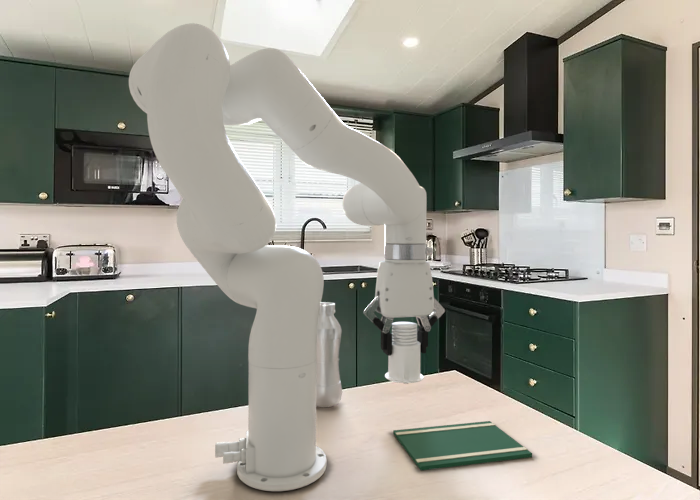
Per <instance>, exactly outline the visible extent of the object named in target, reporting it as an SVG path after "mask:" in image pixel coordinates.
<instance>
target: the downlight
mask: <svg viewBox="0 0 700 500" xmlns="http://www.w3.org/2000/svg"><path fill="white" fill-rule="evenodd" d="M417 328H418V323H416V322H411V321H395V322H394V321H393V322H392V324H391V334H392V355H390V356H388V355H387V357H388V360H387V368H388V369H387V372H386V373H385V374H384V378H385V379H386V380H388V381H390V382H393V383H399V384H405V385H406V384H407V385H409V384H414V383H419V382H422V381H423V380H424V378H425V377H424V375H423V374H422V373H421V352H420V345H421V343H420V342H418V341H417Z"/></svg>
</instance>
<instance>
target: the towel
mask: <svg viewBox="0 0 700 500" xmlns="http://www.w3.org/2000/svg"><path fill="white" fill-rule="evenodd" d="M392 434H393V436H394V437H395V439H396V440H397V441H398V442H399V444H400V445H401V446H402V448H403V449H404V450H405V452H406V453H407V455H408V456H409V457H410V459H411V460H412V461H413V462H414V464H415V465H416V466H417V468H418V469H419V471H428V470H436V469H446V468H455V467H460V466H469V465H471V466H472V465H478V464H487V463H495V462H502V461H513V460H520V459H528V458H533V453H532V452H531V451H530V450H529V449H528V448H527V447H525V446H523V445H522V444H520V443H519V442H518V441H517V440H515V439H514V438H513V437H511V436H510V435H508V434H507V433H506V432H505V431H503V430H502V429H501V428H500V427H498V426H497V425H496V424H495V423H494V422H492V421H490V420H487V421H476V422H475V421H474V422H465V423H456V424H445V425H434V426H424V427H415V428H404V429H403V428H402V429H393V432H392Z"/></svg>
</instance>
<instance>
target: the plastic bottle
mask: <svg viewBox="0 0 700 500" xmlns="http://www.w3.org/2000/svg"><path fill="white" fill-rule="evenodd" d="M335 313H336V302H331V301H327V302H326V301H321V304H320V309H319V315H318V323H317V339H316V407H321V408H331V407H335V406H337V405H339V403H340V402H341V400H342V397H343V396H342V395H343V387H342V382H341V373H340V349H341V341H342V335H343V334H342V333H343V330H342V326H341V324H340V322H339V320H338V319H337V318H336V317H335V315H334V314H335Z"/></svg>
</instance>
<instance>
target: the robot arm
mask: <svg viewBox="0 0 700 500" xmlns="http://www.w3.org/2000/svg"><path fill="white" fill-rule="evenodd" d="M128 88H129V93H130V95H131V97H132V100H133V101H134V102H135V104H136V105H137V107H138V108H140V110H142V111H143V112H144V113H145V114H146V121H147V122H146V123H147V131H148V136H149V140H150V144H151V147H152V150H153V152H154V155H155V157H156V160H157V161H158V164H159V165H160V167H161V168H162V171H164V173H165V175H166V176H167V177H168V179H169V180H170V182H171V183H172V185H173V186H174V188H175V190H177V192H178V194H179V195H180V197H181V198H182V200H181V201H180V203H179V205H178V208H177V212H176V226H177V231H178V233H179V235H180V238H181V240H182V242H183V244H185V246H186V248H187V249H188V250H189V252H190V253H191V254H192V255H193V257H194V258H195V259H196V260H197V261H198V263H199V264H200V266H201V267H202V268H203V269H204V271H205V272H206V273H207V274H208V276H209V277H210V278H211V279H212V280H213V282H214V283H215V284H216V286H217V287H218V288H219V290H221V291H222V292H223V293H224V294H225V296H227V297H228V298H229V299H230V300H232V301H233V302H235V303H236V304H239V305H241V306H244V307H247V308H252V309H256V312H255V316H254V319H253V322H252V325H251V329H250V333H249V336H248V337H249V338H248V347H247V348H248V349H247V350H248V351H247V363H248V365H247V366H248V370H247V371H248V375H247V376H248V380H247V381H248V383H247V384H248V385H247V386H248V389H247V390H248V396H247V397H248V405H247V407H248V409H247V410H248V414H247V415H248V417H247V418H248V421H247V423H248V430H246V431H245V437H241V438H238V441H220V442H219V441H218V442H215V448H214V457H215V458H222V462H223V464H232V463H237V464H236V475H237V477H238V479H239V480H240V481H241V482H242V483H243V484H245V485H246V486H247V487H250V488H253V489H256V490H259V491H265V492H287V491H293V490H296V489H301V488H304V487H306V486H309V485H311V484H313V483H315V482H316V481H317V480H318V479H320V478H321V477H322V476H323V475H324V473H325V472H326V469H327V464H328V462H327V461H328V460H327V455H326V453H325V451H324V450H323V449H322V448H320V447H319V446H318V445H317V406H316V339H317V323H318V315H319V309H320V304H321V302H322V299H323V295H324V287H325V286H324V285H325V281H324V280H325V279H324V273H323V269H322V267H321V265H320V263H319V262H318V260H317V259H316V257H314V255H312V254H311V253H310V252H309V251H306V250H305V249H303V248H300V247H296V246H290V245H271V244H270V242H271V241H272V240H273V238H274V236H275V234H276V231H277V219H276V215H275V212H274V210H273V207H272V205H271V204H270V202H269V200H268V199H267V197H266V196H265V194H264V192H263V191H262V190H261V188H260V187H259V185H258V184H257V183H256V181H255V179H254V178H253V176H252V175H251V173H250V171H249V170H248V169H247V167H246V165H245V164H244V163H243V161H242V160H241V158H240V156H239V155H238V153H237V151H236V149H235V148H234V146H233V144H232V142H231V141H230V138H229V136H228V133H227V131H226V129H225V126H245V125H251V124H253V123H256V122H260V121H262V122H263V123H264V124H265V125H266V126H267V127H268V128H269V129H270V130H271V131H272V132H273V133H274V134H275V135H276V136H277V137H278V139H280V140H281V142H283V144H284V145H286V147H287V148H288V149H289V150H290V151H291V152H292V153H293V154H294V155H295V156H296V157H297V158H298V159H299V160H300V162H301V163H303V164H305V165H306V166H308V167H310V168H314V169H316V170H319V171H323V172H327V173H331V174H336V175H339V176H343V177H346V178H349V179H351V180H354V181H356V182H359V183H356V184H354V185H352V186H351V187H349V188H348V189H347V190H346V191H345V192H344V195H343V198H342V205H341V206H342V211H343V213H344V215H345V216H346V218H347V219H348V220H350V221H351V222H352V223H354V224H356V225H359V226H373V227H374V226H384V243H383V244H384V245H383V246H384V251H383V252H384V256H383V257H384V260H381V261H379V264H378V267H377V274H376V283H375V293H374V299H373V300H372V301H371V302H370V303H369V304H368V305H367V307H366V308H365V309H364V310H363V313H362V314H363V315H364V316H365V317H366V318H367V319H368V320H369V321H370V322H371V323H372V324H373V325H374V326H375V327H376V328H377V329H378V330H379V331H380V349H381V350H382V352H383V353H384V354H385V355H386V356H387V357H388V356H390V355H392V332H391V330H390V329H391V328H392V323H394V319H396V318H415V319H416V321H417V325H418V327H417V341H418V342H420V343H421V345H420V354H426V353H427V348H428V347H429V332H430V331H431V329H432V327H433V326H434V325H435V324H436V323H437V321H438V319H440V318H441V317H442V316H443V314H444V313H445V312H446V309H445V308H444V307H443V306H442V304H441V303H440V302H439V301H438V300H437V299H436V298H435V295H434V283H433V276H432V275H433V274H432V269H431V265H430V262H429V261H428V260H427V259H428V256H430V255H432V256H433V254H434V248H433V247H429V246H428V243H427V205H428V204H427V202H428V201H427V198H428V197H427V191H426V188H425V187H423V186H421V185H420V184H419V182H418V180H417V179H416V177H415V175H414V174H413V172H412V171H411V170H410V169H409V167H408V166H407V165H406V164H405V163H404V161H403V160H402V159H401V157H400V156H399V155H397V153H395V152H394V151H393V150H391V149H390V148H389V147H387V146H385V145H384V144H383V143H380V142H379V141H377V140H375V139H373V138H371V137H370V136H368V135H367V134H365V133H362V132H361V131H358V130H357V129H354V128H352V127H350V126H349V125H347V124H346V123H344V122H343V120H342V119H341V118H340V117H339V115H337V113H336V112H335V111H334V110H333V108H331V106H330V105H329V104H328V102H327V101H326V100H325V99H324V97H323V96H322V95H321V94H320V92H318V90H317V89H316V88H315V86H314V85H313V84H312V83H311V82H310V80H309V79H308V78H307V77H306V75H305V74H304V73H303V72H302V70H301V69H300V68H299V67H298V65H297V64H296V63H295V62H294V61H293V59H292V58H291V57H290V56H289V55H288V54H287V53H285V52H284V51H282V50H279V49H277V48H271V47H269V48H262V49H259V50H256V51H253V52H252V53H249V54H248V55H246V56H244V57H242V58H240V59H239V60H237V61H235V62H234V63H230V58H229V54H228V52H227V49H226V47H225V44H224V43H223V41H222V40H221V38H220V37H219V36H218V34H216V32H215V31H213V29H211V28H209V27H207V26H205V25H203V24H199V23H194V22H192V23H185V24H181V25H178V26H176V27H174V28H172V29H170V30H168V31H167V32H166V33H165V34H163V35H162V36H160V38H159V39H158V40H157V41H155V42H154V43H153V45H152V46H151V47H150V48H149V49H147V51H145V52H144V53H143V54H142V55H141V56H140V57H138V59H137V60H136V61H135V63H134V64H132V67H131V69H130V72H129V76H128ZM268 244H269V245H268ZM375 312H376V313H378V314H380V315H381V318H380V317H377V315H376V314H375Z"/></svg>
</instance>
